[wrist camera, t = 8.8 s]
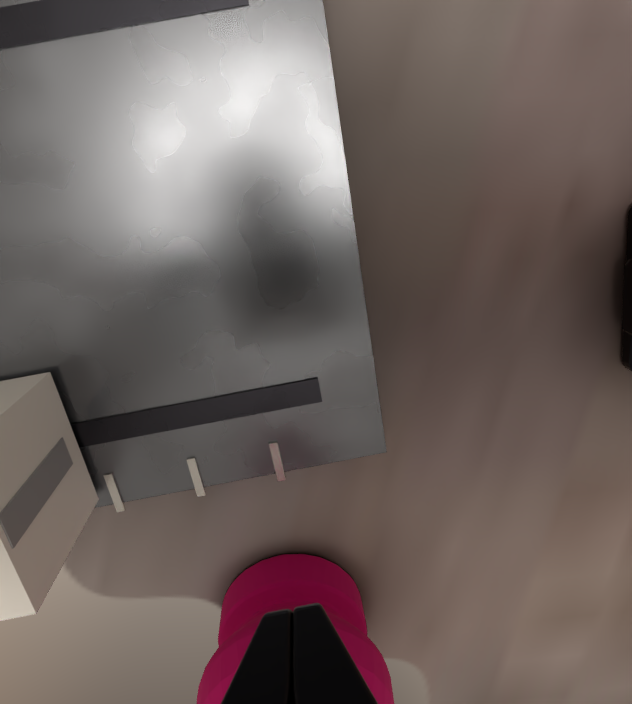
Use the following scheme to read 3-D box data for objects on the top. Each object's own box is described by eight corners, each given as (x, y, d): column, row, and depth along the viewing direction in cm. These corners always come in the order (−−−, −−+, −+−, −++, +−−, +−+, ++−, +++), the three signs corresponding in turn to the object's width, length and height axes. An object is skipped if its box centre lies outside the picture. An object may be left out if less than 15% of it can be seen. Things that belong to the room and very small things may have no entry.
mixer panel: (286, -201, 13) (288, -248, 12) (379, 439, 20) (388, 460, 19) (-351, -91, 13) (-431, -125, 12) (-43, 519, 20) (-69, 547, 18)
